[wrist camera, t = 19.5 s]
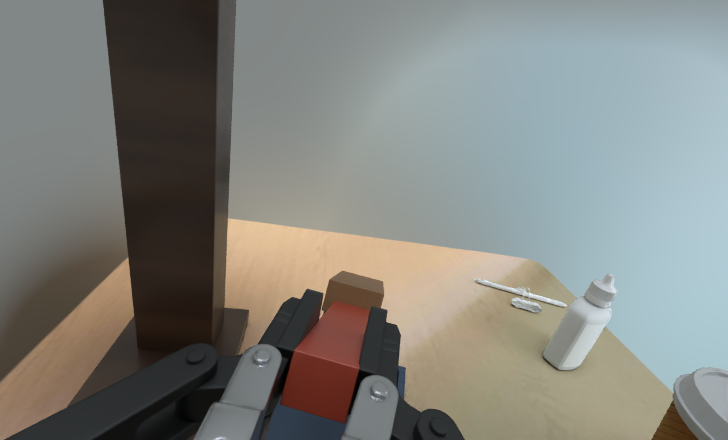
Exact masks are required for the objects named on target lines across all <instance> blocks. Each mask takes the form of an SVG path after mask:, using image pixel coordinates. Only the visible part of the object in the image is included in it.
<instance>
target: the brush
mask: <svg viewBox="0 0 728 440" xmlns="http://www.w3.org/2000/svg"><path fill="white" fill-rule="evenodd" d="M383 297H384V287H383V282H382V281H379V280H375V279H371V278H368V277H364V276H360V275H356V274H353V273H349V272H345V271H342V272H340V273H339V274H337V275H335V276H334V277H332V278H331V279H330V280H329V284H328V287H327V291H326V295H325V299H324V303H323V306H322V310H323V311H324V313H323V316H322V317H321V318H320V319H319V321H318V322H317V324H316V325H315V326H314V327H313V328H312V330H311V331H310V332H309V333H308V335H307V336H306V337H305V338H304V339H303V341H302V342H301V343H300V344H299V345H298V347H296V348H295V350H294V352H293V356H292V359H291V363H290V367H289V371H288V374H287V378H286V382H285V386H284V389H283V393H282V397H281V401H280V405H283V406H286V407H290V408H293V409H296V410H300V411H303V412H306V413H310V414H313V415H317V416H320V417H323V418H327V419H330V420H333V421H337V422H340V423H344V424H345V423H346V420H347V416H348V412H349V408H350V404H351V400H352V396H353V392H354V388H355V384H356V380H357V376H358V372H359V368H360V365H359V359H360V354H361V348H362V343H363V338H364V333H365V329H366V325H367V321H368V317H369V313H370V309H371V306H374V307H378V308H381V305H382V301H383Z"/></svg>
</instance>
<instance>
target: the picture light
mask: <svg viewBox="0 0 728 440" xmlns="http://www.w3.org/2000/svg"><path fill="white" fill-rule="evenodd" d="M474 280H475V281H476V282H478V283H480V284H484V285H487V286H491V287H494V288H498V289H501V290H505V291H508V292H512V293H515V294H519V295H522V296H523V298H524V296H526V297H529V299H530V298H533V299H537V300H540V301H544V302H547V303H551V304H554V305H557V306H561V307H567V305H566V304H564V303H562V302H560V301H556V300H552V299H548V298H545V297H541V296H538V295H534V294H531V293H530V289H529V288H528V289H529V293H527V292H526V289H527V288H525V290H524V287H523V286H520V287H523V289H520V287H519V288H517V289H513V288H510V287H506V286H503V285H499V284H496V283H492V282H488V281H485V280H481V279H474ZM523 298H522V299H520V298H515V299H512V300H511V301H512V304H513V305H514V306H515V307H517V308H518V307H519V308H523V309H526V310H530V311H532V312H534V313H536V312H541V307H540V306H539V305H538V303H532V302H529V299H528V301H525V300H523Z"/></svg>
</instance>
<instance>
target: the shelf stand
mask: <svg viewBox="0 0 728 440" xmlns="http://www.w3.org/2000/svg"><path fill="white" fill-rule="evenodd" d="M103 5H104V16H105V26H106V36H107V45H108V55H109V65H110V76H111V86H112V95H113V106H114V116H115V126H116V136H117V146H118V157H119V165H120V166H119V167H120V177H121V187H122V197H123V207H124V216H125V227H126V237H127V247H128V257H129V267H130V277H131V287H132V298H133V308H134V317H133V318H132V320H131V321H130V322H129V324H128V325H127V326H126V328H125V329H124V330H123V332H122V333H121V335H120V336H119V337H118V339H117V340H116V341H115V343H114V344H113V345H112V347H111V348H110V349H109V351H108V352H107V354H106V355H105V356H104V358H103V359H102V360H101V362H100V363H99V364H98V366H97V367H96V368H95V370H94V371H93V373H92V374H91V375H90V377H89V378H88V379H87V381H86V382H85V383H84V385H83V386H82V387H81V389H80V390H79V392H78V393H77V394H76V396H75V397H74V398H73V400H72V401H71V402H70V404H69V405H68V406H67V407H69V406H71V405H73V404H75V403H77V402H79V401H81V400H83V399H85V398H87V397H88V396H90V395H92V394H94V393H96V392H98V391H100V390H102V389H104V388H106V387H108V386H110V385H112V384H114V383H116V382H118V381H120V380H122V379H124V378H126V377H127V376H129V375H131V374H133V373H135V372H137V371H139V370H141V369H143V368H145V367H147V366H149V365H151V364H153V363H155V362H157V361H159V360H161V359H163V358H165V357H166V356H168V355H170V354H172V353H174V352H176V351H178V350H180V349H182V348H184V347H186V346H188V345H192V344H196V343H204V344H208V345H211V346H213V347H214V348H215V349H216V351H217V353H218V356H237V355H238V354H239V351H240V347H241V344H242V340H243V337H244V333H245V330H246V327H247V323H248V317H249V310H244V309H232V308H224V303H225V277H226V251H227V225H228V198H229V172H230V170H229V169H230V146H231V120H232V93H233V67H234V41H235V39H234V38H235V15H236V0H103ZM196 434H197V433H195V434H194V435H192V436H191V437H190V438H188V439H187V440H193V439H194V438H195V436H196Z"/></svg>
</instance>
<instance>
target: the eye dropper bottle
mask: <svg viewBox="0 0 728 440" xmlns="http://www.w3.org/2000/svg"><path fill="white" fill-rule="evenodd" d="M614 279H615V276H614V275H612V274H609V273H608V274H607V275H606V276H605V277H604V279H602V280H593V281H592V283H591V284H590V286H589V288H588V289H587V291H586V293H585V296H583V297H580V298H578V299H576V300H575V301H573V302H572V303H571V305H570V306H569V308H568V310H567V311H566V313H565V315H564V317H563V318H562V320H561V322H560V324H559V325H558V327H557V329H556V331H555V333H554V334H553V336H552V338H551V340H550V341H549V343H548V345H547V347H546V349H545V350H544V353H543V356H544V358H545V359H546V360H547V361H549V362H550V363H551V364H552V365H553V366H554V367H556V368H557V369H559V370H572V369H575V368H577V367H579V366H580V365H581V363H582V362H583V361H584V359H585V357H586V356H587V354H588V353H589V351H590V350H591V348H592V346H593V345H594V343H595V342H596V340H597V338H598V337H599V335H600V334H601V332H602V330H603V329H604V327H605V326H606V324H607V322H608V321H609V319H610V317H611V309H610V307H609V305H610V304H611V302H612V301H613V299H614V298H615V296H616V294H617V293H618V292H617V289H616V288H615V287H614V286H613V283H614Z"/></svg>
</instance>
